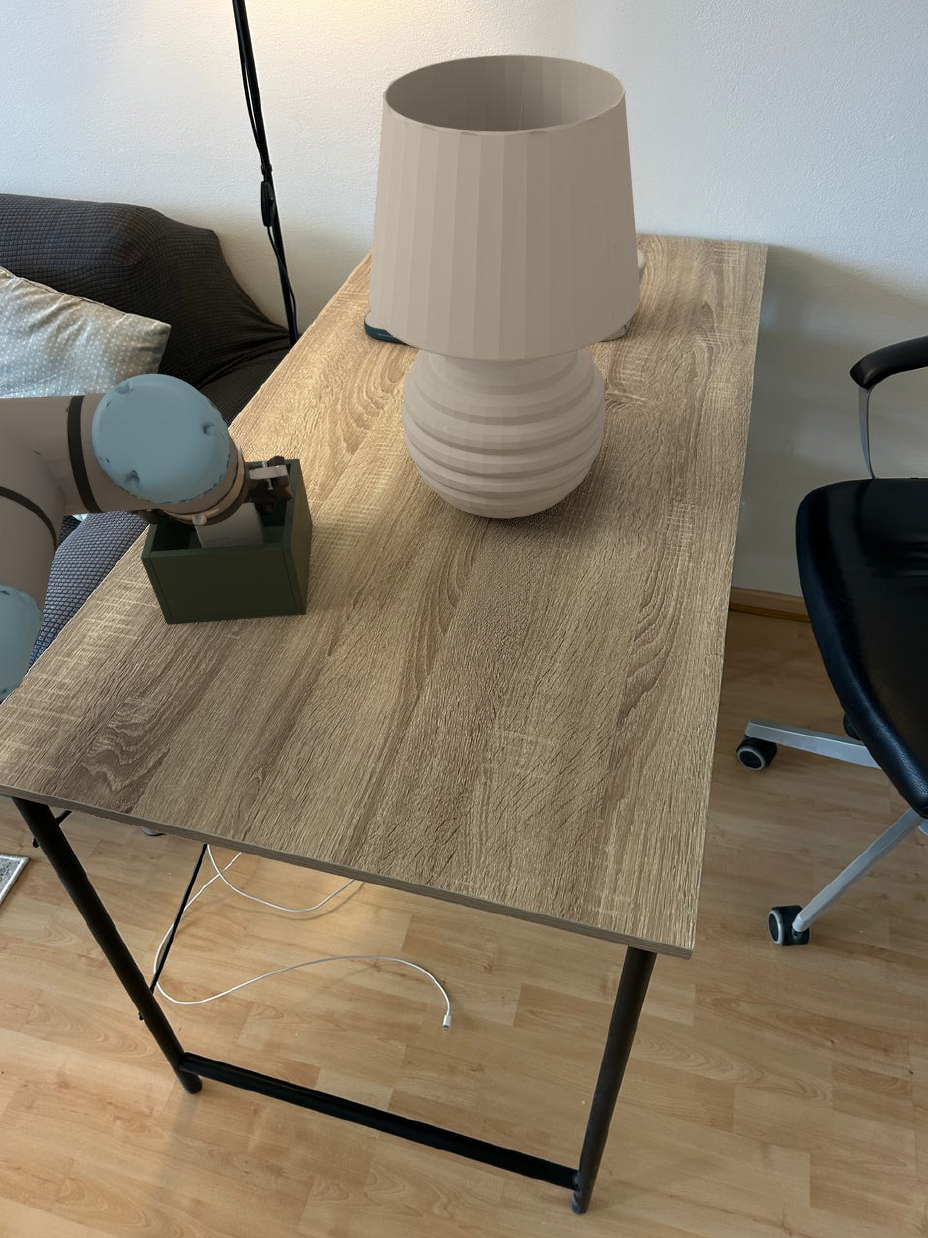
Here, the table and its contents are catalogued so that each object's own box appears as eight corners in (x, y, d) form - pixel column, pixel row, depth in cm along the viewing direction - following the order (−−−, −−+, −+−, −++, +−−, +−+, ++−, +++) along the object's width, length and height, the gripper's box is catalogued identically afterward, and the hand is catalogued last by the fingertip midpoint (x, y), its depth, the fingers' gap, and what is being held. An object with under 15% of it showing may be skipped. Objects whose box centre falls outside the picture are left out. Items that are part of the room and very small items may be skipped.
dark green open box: (166, 624, 88) (140, 557, 81) (187, 533, 97) (164, 467, 91) (305, 614, 88) (290, 547, 82) (312, 524, 97) (299, 458, 91)
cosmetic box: (267, 537, 93) (242, 439, 84) (271, 565, 90) (246, 467, 81) (207, 548, 92) (176, 451, 83) (209, 577, 89) (177, 479, 80)
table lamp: (566, 405, 111) (588, 31, 82) (655, 532, 95) (723, 117, 66) (368, 447, 107) (317, 65, 78) (425, 587, 90) (388, 167, 61)
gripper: (75, 543, 67) (141, 561, 90) (328, 498, 69) (329, 527, 92) (54, 444, 66) (125, 487, 89) (309, 403, 69) (314, 455, 92)
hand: (228, 507), depth 91 cm, fingers closed on cosmetic box, 6 cm apart
